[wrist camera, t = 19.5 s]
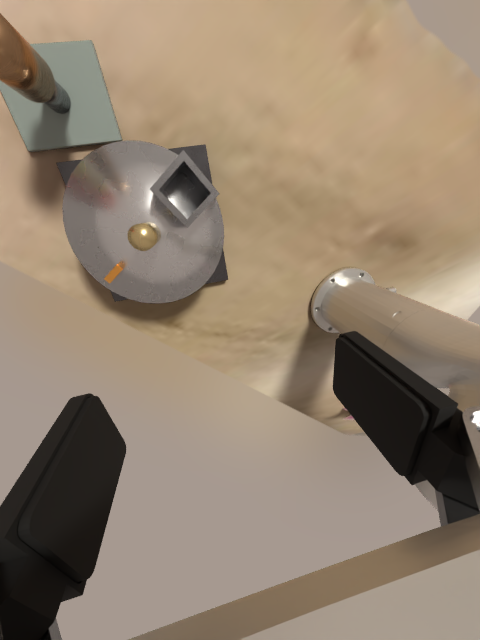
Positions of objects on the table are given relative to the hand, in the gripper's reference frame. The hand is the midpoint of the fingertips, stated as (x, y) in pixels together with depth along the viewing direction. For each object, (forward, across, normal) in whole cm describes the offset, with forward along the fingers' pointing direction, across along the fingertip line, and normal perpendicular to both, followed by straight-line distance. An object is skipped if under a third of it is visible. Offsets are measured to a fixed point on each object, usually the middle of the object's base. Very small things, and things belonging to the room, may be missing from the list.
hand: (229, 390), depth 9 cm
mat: (+28, +11, -19) cm, 36 cm away
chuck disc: (+24, +5, -5) cm, 25 cm away
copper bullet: (+28, +11, -19) cm, 35 cm away
